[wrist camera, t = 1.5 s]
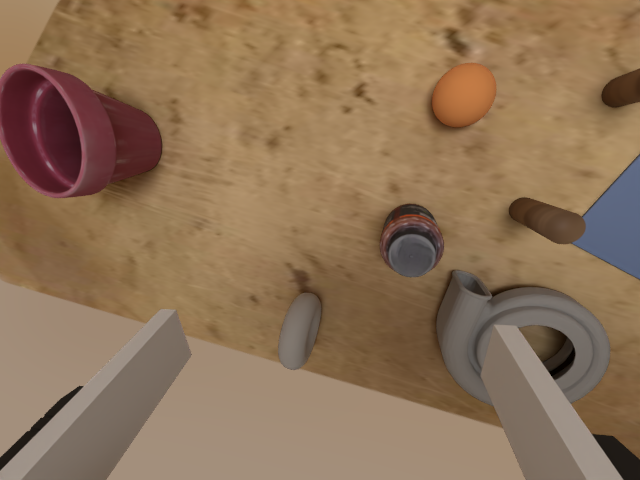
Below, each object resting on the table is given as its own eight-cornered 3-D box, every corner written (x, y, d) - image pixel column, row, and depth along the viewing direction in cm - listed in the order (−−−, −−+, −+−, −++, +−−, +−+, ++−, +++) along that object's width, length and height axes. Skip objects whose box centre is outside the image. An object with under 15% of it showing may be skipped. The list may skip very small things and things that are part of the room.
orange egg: (499, 86, 28) (519, 70, 23) (465, 138, 30) (477, 134, 25) (450, 63, 29) (459, 43, 24) (419, 115, 31) (422, 107, 26)
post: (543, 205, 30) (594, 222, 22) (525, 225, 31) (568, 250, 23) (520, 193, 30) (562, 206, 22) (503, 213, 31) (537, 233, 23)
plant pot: (92, 149, 46) (-17, 146, 34) (118, 68, 41) (0, 31, 29) (155, 206, 45) (66, 223, 34) (191, 131, 40) (100, 120, 28)
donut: (319, 342, 43) (295, 391, 34) (298, 335, 44) (269, 382, 35) (328, 283, 40) (304, 321, 31) (306, 278, 41) (276, 312, 32)
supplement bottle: (386, 250, 36) (377, 287, 26) (383, 204, 35) (373, 224, 24) (436, 249, 34) (448, 289, 24) (435, 201, 33) (448, 220, 22)
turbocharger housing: (544, 395, 37) (607, 298, 32) (575, 443, 31) (659, 332, 26) (414, 353, 39) (454, 256, 34) (419, 390, 33) (468, 279, 28)
